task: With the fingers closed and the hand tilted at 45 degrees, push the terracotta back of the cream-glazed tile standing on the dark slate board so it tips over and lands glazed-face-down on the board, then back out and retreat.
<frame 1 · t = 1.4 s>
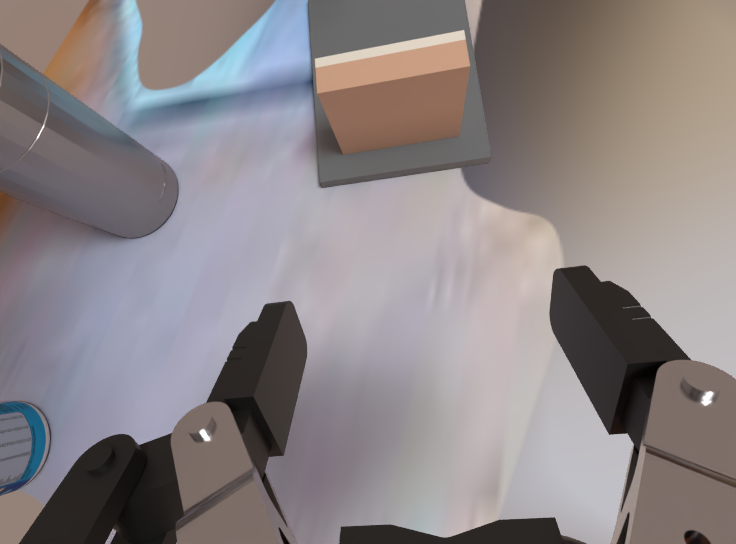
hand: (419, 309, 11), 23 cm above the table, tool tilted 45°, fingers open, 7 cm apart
slate board: (392, 76, 39), on the table
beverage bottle: (18, 444, 37), on the table
tile: (398, 131, 36), point 1 cm above the table, touching slate board
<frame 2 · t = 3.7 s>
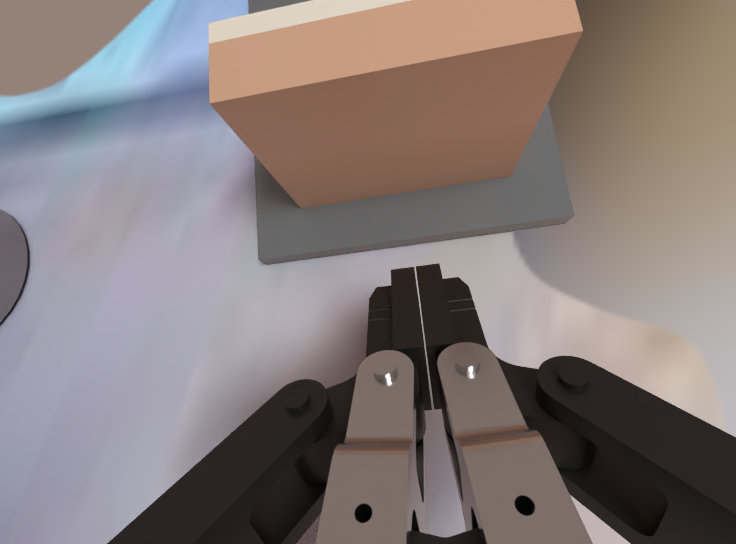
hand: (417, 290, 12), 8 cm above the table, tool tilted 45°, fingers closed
slate board: (386, 69, 23), on the table
tile: (399, 166, 20), point 1 cm above the table, touching slate board
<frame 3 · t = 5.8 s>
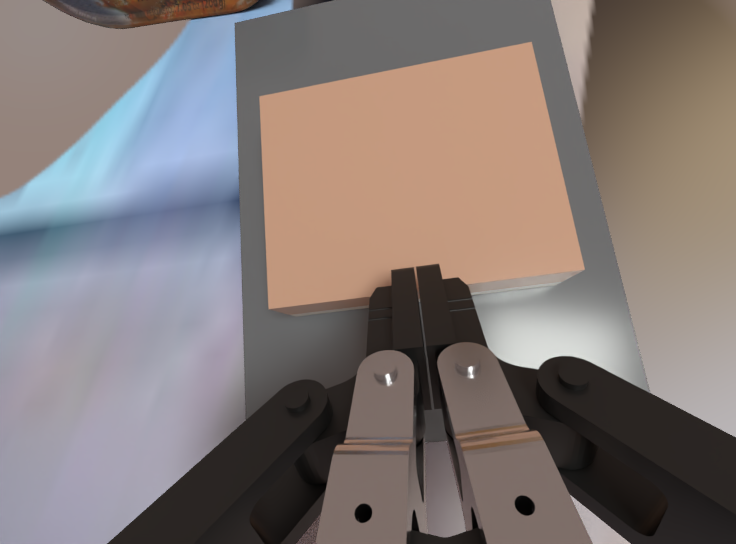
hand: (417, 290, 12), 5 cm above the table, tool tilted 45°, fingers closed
slate board: (406, 194, 19), on the table
tile: (419, 296, 15), point 3 cm above the table, tilted 90°, touching slate board
tin: (184, 3, 24), on the table
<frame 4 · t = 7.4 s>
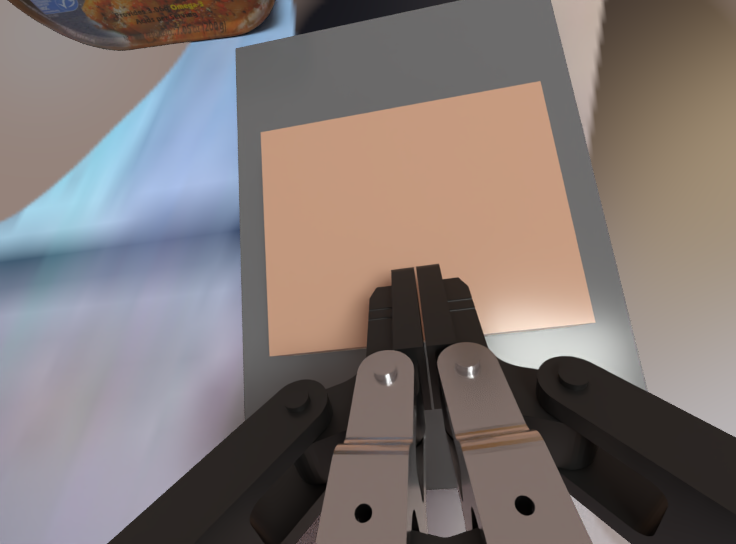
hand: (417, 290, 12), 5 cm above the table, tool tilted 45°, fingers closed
slate board: (409, 228, 18), on the table
tile: (424, 341, 14), point 3 cm above the table, tilted 90°, touching slate board
tin: (184, 25, 23), on the table
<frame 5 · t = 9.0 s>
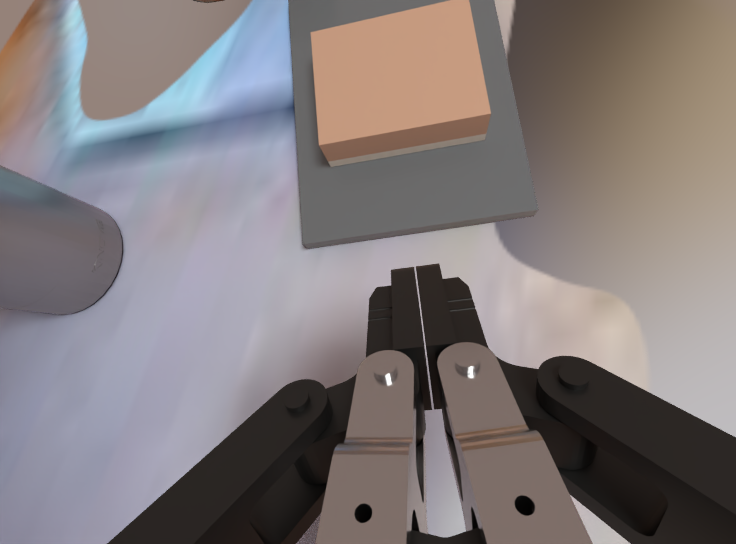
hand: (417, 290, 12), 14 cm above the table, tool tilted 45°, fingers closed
slate board: (398, 99, 30), on the table
tile: (404, 142, 26), point 3 cm above the table, tilted 90°, touching slate board
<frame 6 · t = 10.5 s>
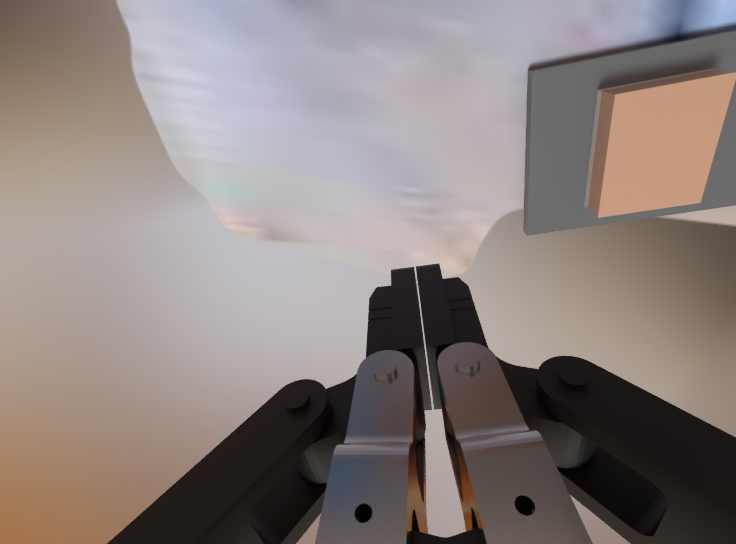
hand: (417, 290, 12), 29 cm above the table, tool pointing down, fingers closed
slate board: (644, 138, 37), on the table
tile: (597, 156, 35), point 3 cm above the table, tilted 90°, touching slate board
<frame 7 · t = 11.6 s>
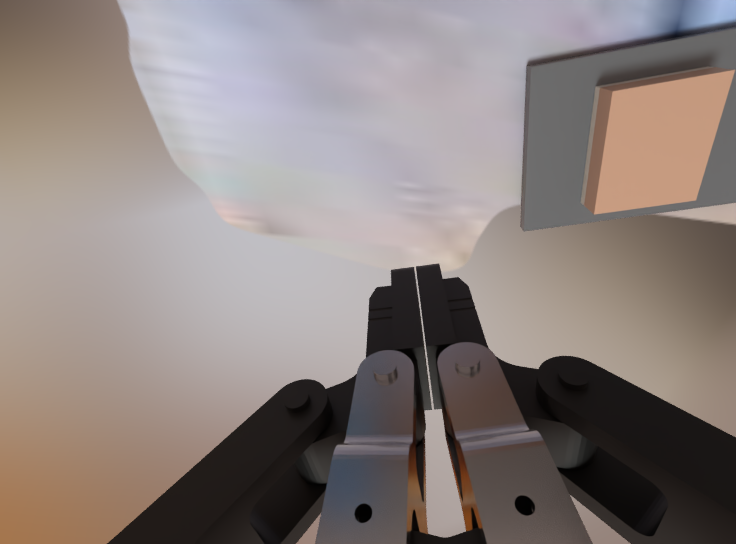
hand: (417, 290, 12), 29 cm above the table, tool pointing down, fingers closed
slate board: (641, 136, 37), on the table
tile: (594, 153, 35), point 3 cm above the table, tilted 90°, touching slate board
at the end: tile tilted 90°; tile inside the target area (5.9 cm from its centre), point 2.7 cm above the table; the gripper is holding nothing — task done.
